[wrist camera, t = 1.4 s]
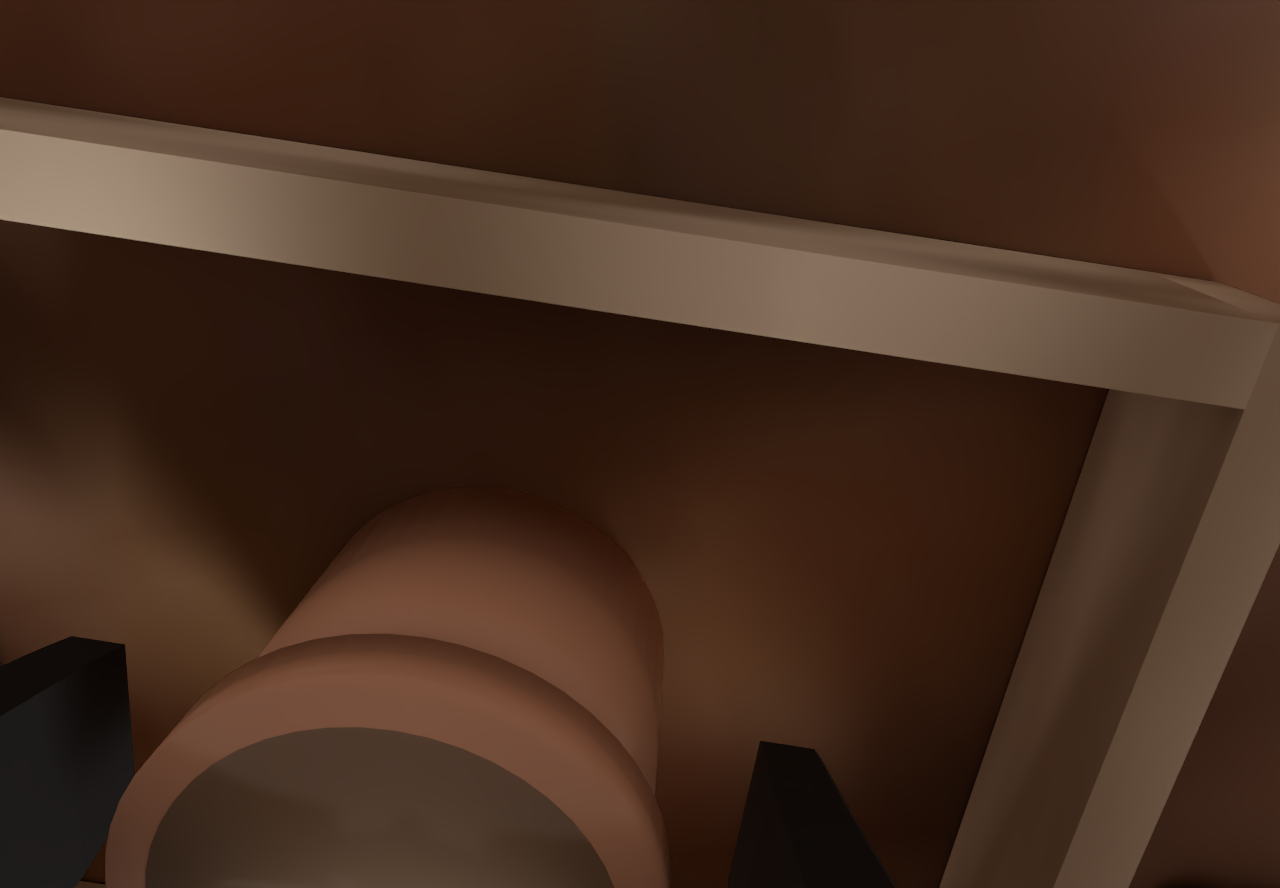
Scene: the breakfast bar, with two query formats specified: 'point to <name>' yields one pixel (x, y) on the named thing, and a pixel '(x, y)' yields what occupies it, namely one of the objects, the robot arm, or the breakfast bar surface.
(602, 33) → the breakfast bar surface
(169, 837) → the flower pot
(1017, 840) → the frame
